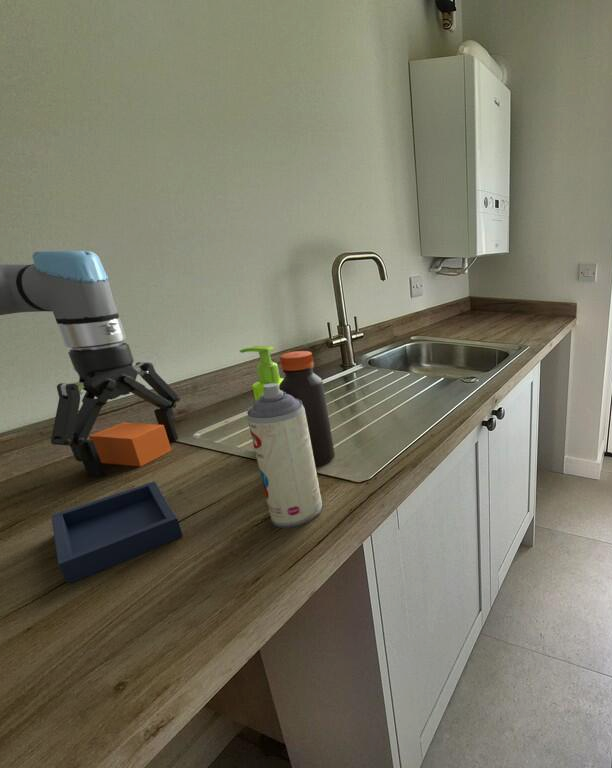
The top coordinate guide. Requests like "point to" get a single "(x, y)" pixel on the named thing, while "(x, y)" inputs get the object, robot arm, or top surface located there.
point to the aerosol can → (285, 457)
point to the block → (131, 443)
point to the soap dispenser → (264, 369)
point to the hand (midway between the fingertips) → (137, 455)
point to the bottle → (309, 401)
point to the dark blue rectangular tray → (112, 530)
